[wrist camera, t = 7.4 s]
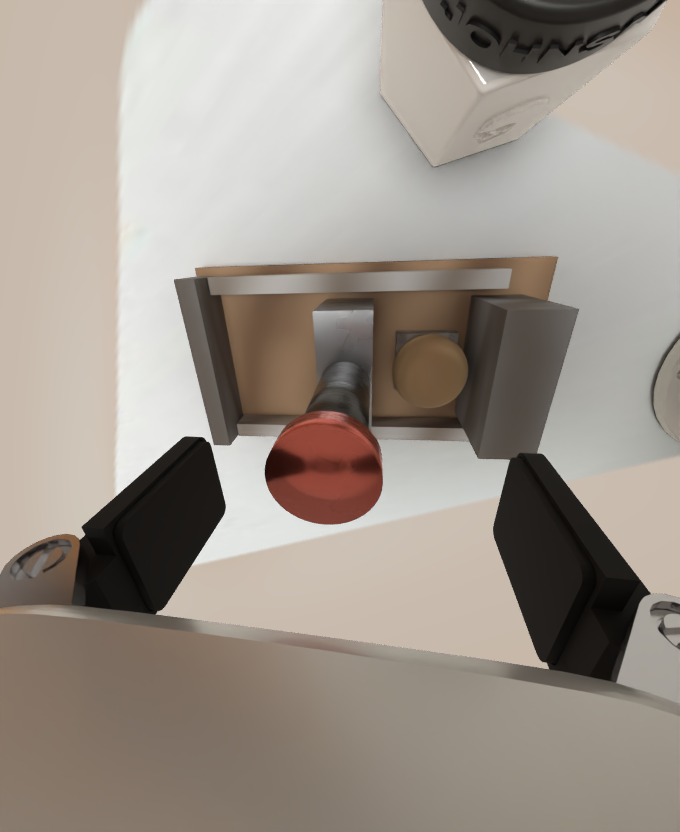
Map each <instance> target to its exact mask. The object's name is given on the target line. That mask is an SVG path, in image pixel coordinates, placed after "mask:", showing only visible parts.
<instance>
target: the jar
mask: <svg viewBox="0 0 680 832" xmlns="http://www.w3.org/2000/svg"><path fill="white" fill-rule="evenodd" d="M666 2H667V0H382V29H381V64H380V94H381V96H382V97H383V98H384V100H385V101H386V103H387V104H388V105H389V107H390V108H391V110H392V111H393V112H394V114H395V115H396V116H397V118H398V119H399V121H400V122H401V123H402V125H403V126H404V128H405V129H406V130H407V132H408V133H409V134H410V136H411V137H412V139H413V140H414V141H415V143H416V144H417V146H418V147H419V148H420V150H421V151H422V153H423V154H424V155H425V157H426V158H427V159H428V161H429V162H430V164H431V165H432V166H439V165H442V164H445V163H448V162H451V161H454V160H457V159H460V158H463V157H466V156H469V155H472V154H475V153H478V152H481V151H484V150H487V149H490V148H493V147H496V146H499V145H502V144H505V143H508V142H511V141H514V140H517V139H519V138H520V137H521V136H522V135H524V134H525V133H526V132H527V131H529V130H530V129H531V128H532V127H533V126H535V125H536V124H537V123H538V122H540V121H541V120H542V119H543V118H545V117H546V116H547V115H548V114H549V113H551V112H552V111H553V110H554V109H556V108H557V107H558V106H559V105H561V104H562V103H563V102H564V101H565V100H567V99H568V98H569V97H570V96H572V95H573V94H574V93H575V92H577V91H578V90H579V89H580V88H582V87H583V86H584V85H585V84H586V83H588V82H589V81H590V80H591V79H592V78H594V77H595V76H596V75H598V74H599V73H600V72H601V71H602V70H604V69H605V68H606V67H607V66H609V65H610V64H611V63H612V62H614V61H615V60H616V59H617V58H618V57H620V56H621V55H622V54H623V53H625V52H626V51H627V50H628V49H630V48H631V47H632V46H633V45H635V44H636V43H637V42H638V41H639V40H641V39H642V38H643V37H644V36H646V35H647V34H648V33H649V32H650V31H651V29H652V28H653V27H654V25H655V24H656V22H657V20H658V18H659V16H660V13H661V12H662V10H663V8H664V6H665V4H666Z"/></svg>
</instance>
